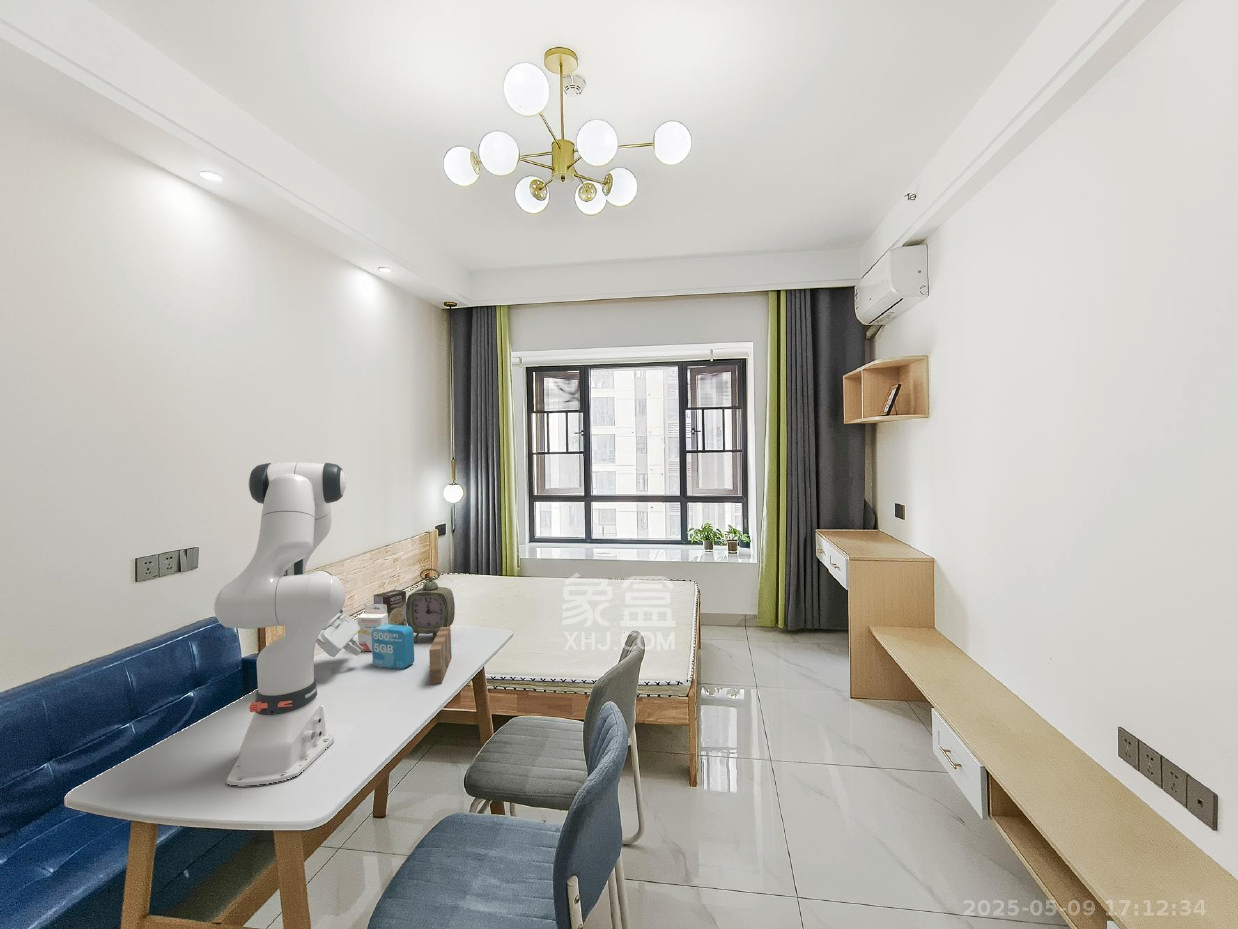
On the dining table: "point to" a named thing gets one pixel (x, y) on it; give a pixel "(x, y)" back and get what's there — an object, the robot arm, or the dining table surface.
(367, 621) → the ink cartridge box
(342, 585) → the robot arm
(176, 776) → the dining table surface
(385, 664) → the data package
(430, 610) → the tabletop clock
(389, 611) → the coffee box
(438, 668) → the walnut board
